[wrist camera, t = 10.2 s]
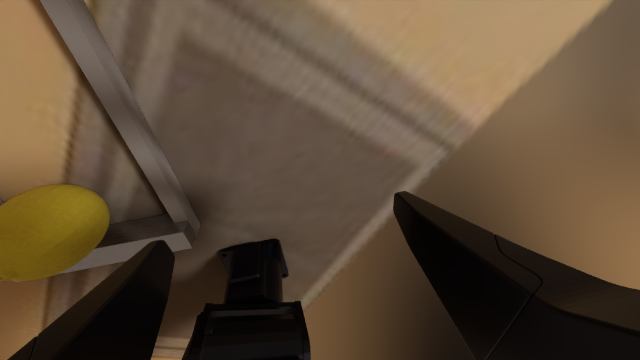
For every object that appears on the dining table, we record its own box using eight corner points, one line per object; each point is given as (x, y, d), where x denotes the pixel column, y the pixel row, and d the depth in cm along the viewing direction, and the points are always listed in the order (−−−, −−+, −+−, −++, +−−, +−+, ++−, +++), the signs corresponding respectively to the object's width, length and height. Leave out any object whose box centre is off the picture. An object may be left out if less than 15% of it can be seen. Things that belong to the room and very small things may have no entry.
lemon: (58, 216, 20) (-45, 308, 14) (35, 160, 18) (-106, 240, 11) (133, 221, 22) (73, 305, 15) (123, 170, 19) (45, 245, 12)
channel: (200, 224, 23) (192, 248, 21) (43, 254, 22) (14, 282, 20) (8, -143, 11) (-72, -196, 8) (-389, -124, 9) (-629, -179, 7)
